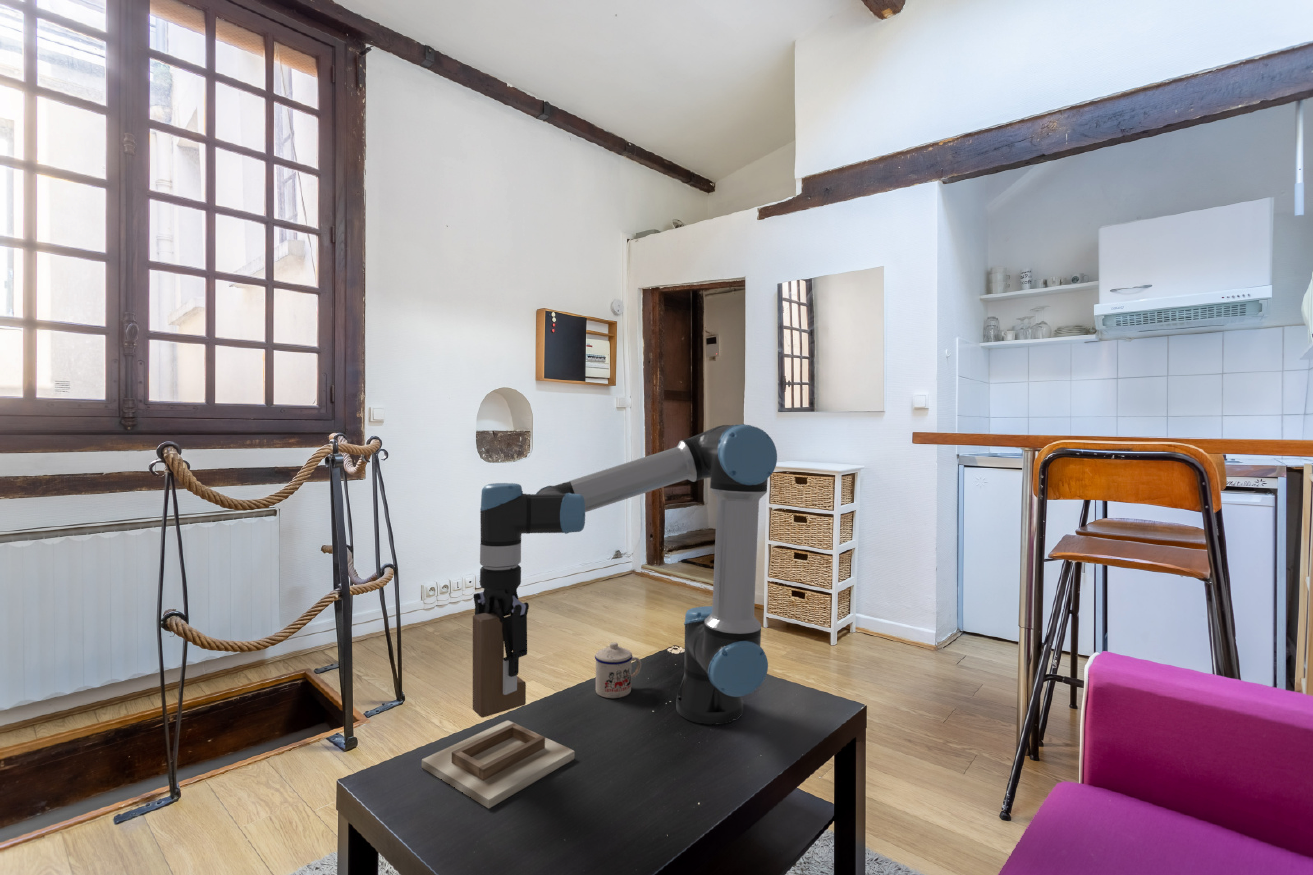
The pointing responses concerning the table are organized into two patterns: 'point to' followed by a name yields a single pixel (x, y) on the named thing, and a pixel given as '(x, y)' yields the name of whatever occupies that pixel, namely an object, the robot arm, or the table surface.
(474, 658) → the wooden block
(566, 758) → the keyed plate
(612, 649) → the teacup with lid
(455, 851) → the table surface
